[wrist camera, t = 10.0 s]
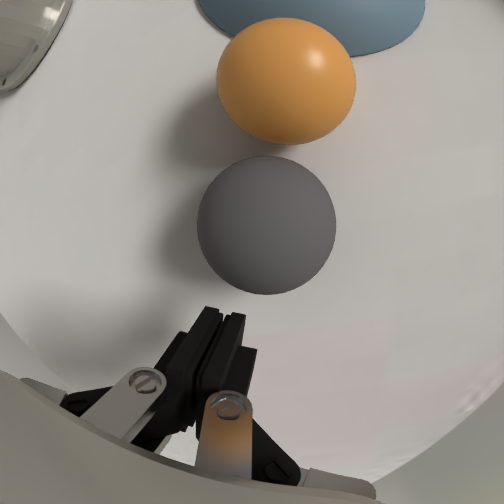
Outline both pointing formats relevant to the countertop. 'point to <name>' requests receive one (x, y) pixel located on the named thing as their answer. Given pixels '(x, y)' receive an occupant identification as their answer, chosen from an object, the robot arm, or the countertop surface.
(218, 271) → the dark gray ball
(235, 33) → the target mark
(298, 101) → the object ball
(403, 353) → the countertop surface
